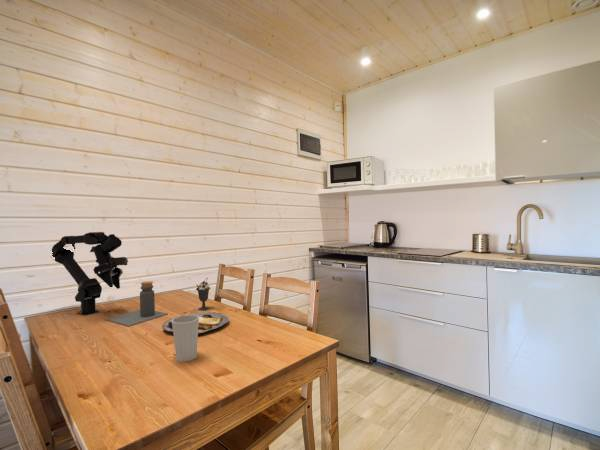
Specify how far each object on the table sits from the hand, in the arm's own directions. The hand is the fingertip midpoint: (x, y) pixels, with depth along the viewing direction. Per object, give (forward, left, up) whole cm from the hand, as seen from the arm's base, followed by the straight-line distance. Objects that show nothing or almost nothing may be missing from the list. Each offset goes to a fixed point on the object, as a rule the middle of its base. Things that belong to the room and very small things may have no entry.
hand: (115, 287), depth 137 cm
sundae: (+27, +27, -13) cm, 40 cm away
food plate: (+43, +9, -13) cm, 46 cm away
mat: (+10, +4, -13) cm, 17 cm away
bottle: (+13, +7, -13) cm, 20 cm away
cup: (+63, -12, -13) cm, 66 cm away
